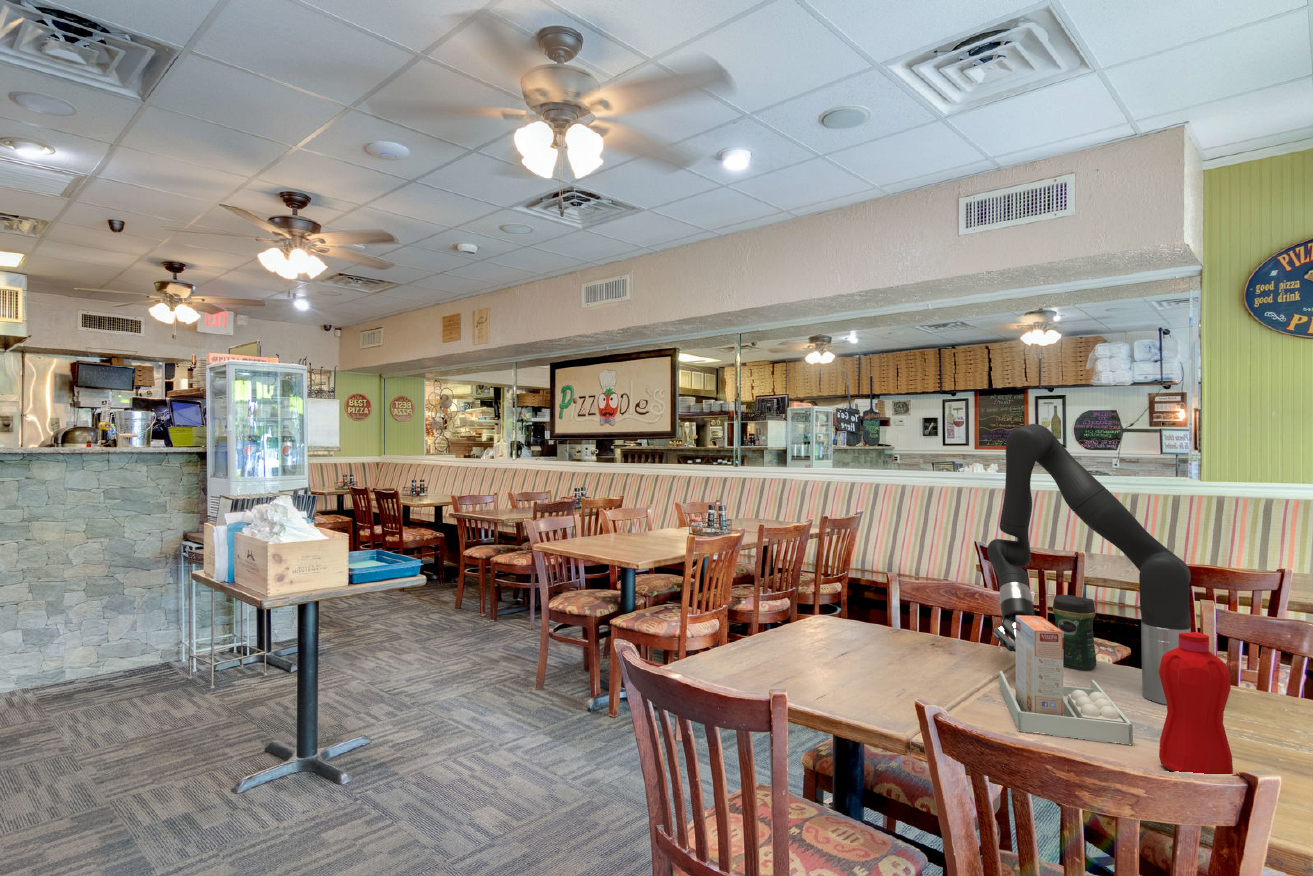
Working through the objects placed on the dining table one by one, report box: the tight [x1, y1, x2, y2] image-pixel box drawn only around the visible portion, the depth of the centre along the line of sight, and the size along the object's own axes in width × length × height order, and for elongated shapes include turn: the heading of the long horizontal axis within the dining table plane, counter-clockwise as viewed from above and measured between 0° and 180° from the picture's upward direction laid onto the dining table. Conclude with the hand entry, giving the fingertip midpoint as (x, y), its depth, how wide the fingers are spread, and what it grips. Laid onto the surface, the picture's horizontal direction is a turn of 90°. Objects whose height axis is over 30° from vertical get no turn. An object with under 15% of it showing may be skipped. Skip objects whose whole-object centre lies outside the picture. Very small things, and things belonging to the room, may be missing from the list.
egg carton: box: [1067, 690, 1124, 723], centre depth 144 cm, size 7×14×6 cm, turn 160°
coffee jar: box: [1052, 594, 1097, 671], centre depth 186 cm, size 10×8×19 cm
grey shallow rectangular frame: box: [998, 670, 1134, 746], centre depth 152 cm, size 20×28×4 cm
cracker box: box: [1015, 615, 1064, 716], centre depth 148 cm, size 14×6×21 cm, turn 167°
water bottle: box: [1158, 631, 1234, 774], centre depth 125 cm, size 9×11×25 cm
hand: (1025, 666), depth 166 cm, fingers closed
